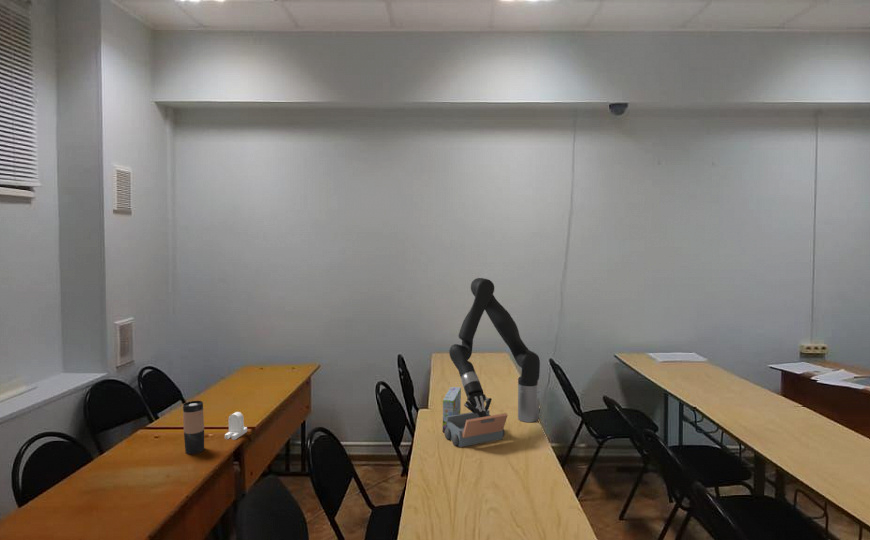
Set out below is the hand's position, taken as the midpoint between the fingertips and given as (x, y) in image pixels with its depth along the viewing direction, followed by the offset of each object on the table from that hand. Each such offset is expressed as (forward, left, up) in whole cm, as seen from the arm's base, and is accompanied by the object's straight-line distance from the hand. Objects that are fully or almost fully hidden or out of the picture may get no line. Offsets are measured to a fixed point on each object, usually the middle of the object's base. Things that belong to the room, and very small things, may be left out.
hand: (484, 421), depth 216 cm
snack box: (+2, -28, -11) cm, 30 cm away
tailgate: (0, -2, -6) cm, 6 cm away
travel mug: (+112, -46, -11) cm, 121 cm away
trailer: (0, -10, -11) cm, 14 cm away
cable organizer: (+95, -57, -11) cm, 112 cm away
